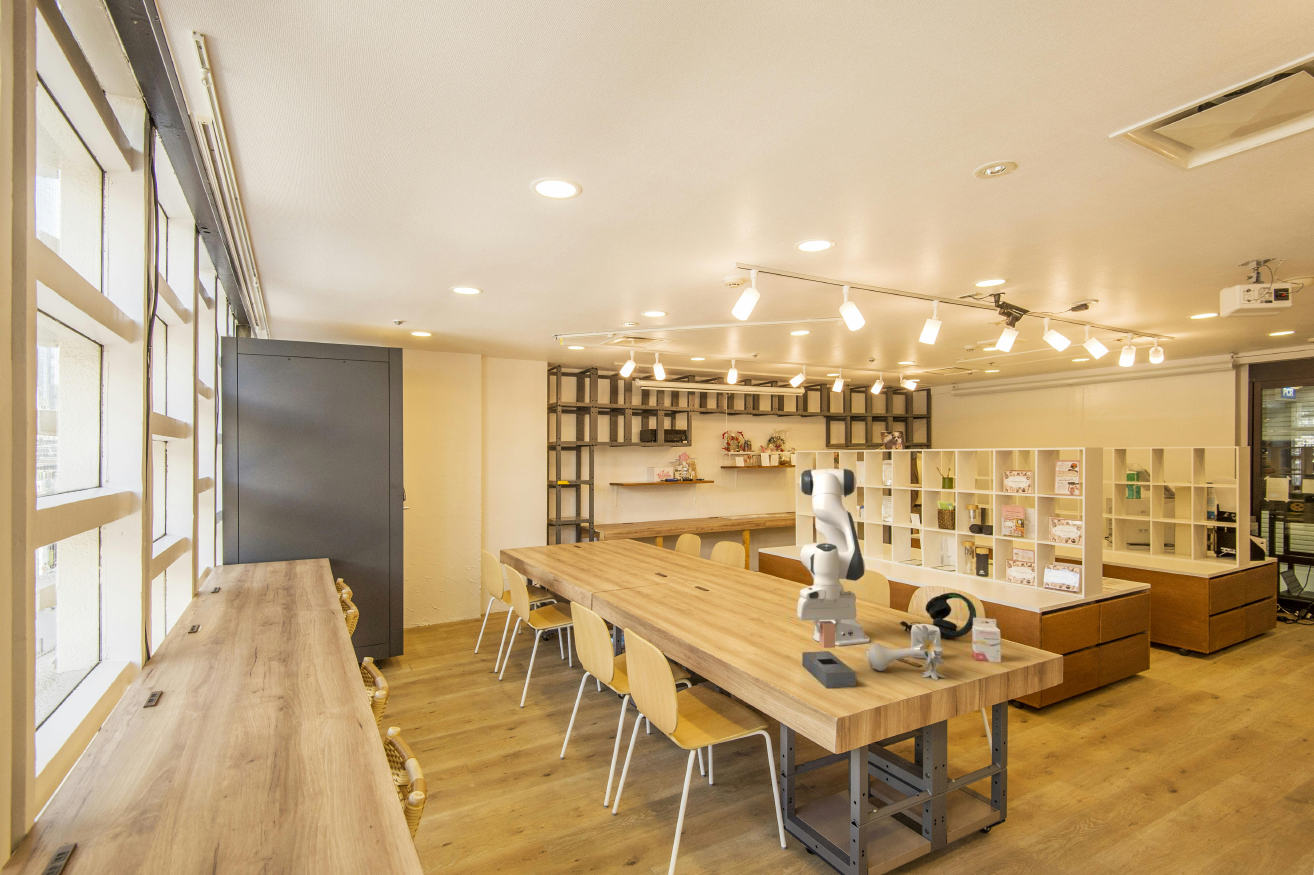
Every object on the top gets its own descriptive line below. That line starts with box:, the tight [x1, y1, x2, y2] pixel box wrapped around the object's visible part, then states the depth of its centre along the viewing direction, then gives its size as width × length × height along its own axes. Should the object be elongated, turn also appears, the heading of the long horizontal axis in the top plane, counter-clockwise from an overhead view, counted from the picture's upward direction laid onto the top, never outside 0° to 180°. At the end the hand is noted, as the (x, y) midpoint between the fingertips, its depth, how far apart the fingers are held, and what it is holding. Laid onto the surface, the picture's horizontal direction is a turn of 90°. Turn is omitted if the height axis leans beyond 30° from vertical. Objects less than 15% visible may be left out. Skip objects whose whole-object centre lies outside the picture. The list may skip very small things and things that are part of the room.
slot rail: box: [801, 650, 857, 689], centre depth 212 cm, size 10×22×5 cm, turn 7°
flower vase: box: [865, 625, 946, 681], centre depth 215 cm, size 13×18×25 cm
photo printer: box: [910, 623, 942, 660], centre depth 231 cm, size 10×4×12 cm, turn 73°
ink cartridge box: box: [971, 617, 1002, 663], centre depth 228 cm, size 9×5×15 cm, turn 76°
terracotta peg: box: [818, 621, 836, 649], centre depth 212 cm, size 4×4×8 cm
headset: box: [899, 592, 977, 640], centre depth 258 cm, size 18×14×29 cm
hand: (827, 632), depth 212 cm, fingers closed on terracotta peg, 4 cm apart
